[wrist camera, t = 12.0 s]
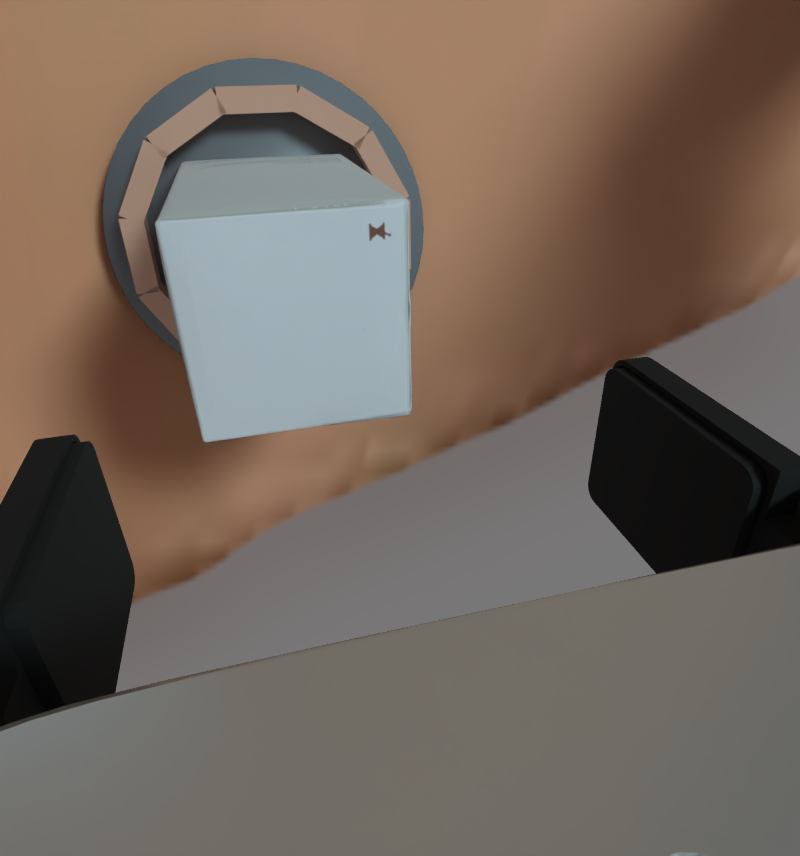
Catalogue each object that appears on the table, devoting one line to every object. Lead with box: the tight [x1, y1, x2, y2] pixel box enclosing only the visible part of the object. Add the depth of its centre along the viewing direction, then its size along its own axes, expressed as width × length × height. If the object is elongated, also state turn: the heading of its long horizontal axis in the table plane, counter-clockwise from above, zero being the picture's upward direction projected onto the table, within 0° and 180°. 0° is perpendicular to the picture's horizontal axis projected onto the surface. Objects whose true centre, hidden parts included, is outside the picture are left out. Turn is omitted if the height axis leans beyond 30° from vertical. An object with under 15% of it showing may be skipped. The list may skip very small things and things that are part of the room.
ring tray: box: [103, 58, 423, 355], centre depth 29 cm, size 15×15×2 cm
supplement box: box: [155, 154, 412, 442], centre depth 24 cm, size 7×7×13 cm
